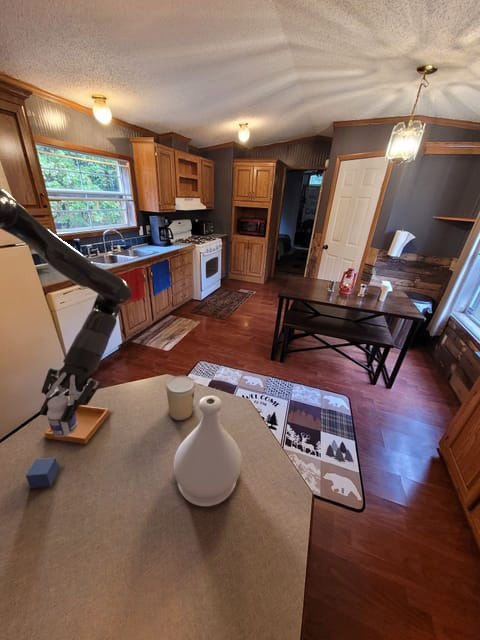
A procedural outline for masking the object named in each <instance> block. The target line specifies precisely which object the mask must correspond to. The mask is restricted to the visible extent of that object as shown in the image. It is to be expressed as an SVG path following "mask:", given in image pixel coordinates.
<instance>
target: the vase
mask: <svg viewBox="0 0 480 640" xmlns="http://www.w3.org/2000/svg"><path fill="white" fill-rule="evenodd" d="M222 405H223V403H222V400H221V399H220V398H219V397H218V396H216V395H205V396H203V397H201V399H200V400H199V402H198V408H199V410H200V412H202V416H201V420H200V422H199V423H198V424H197V426H195V428H194V429H193V430H192V431H191V432H190V433H189V434H188V435H187V436H186V438H184V439H183V441H182V442H181V444H180V445H179V447H178V448H177V450H176V453H175V455H174V458H173V473H174V477H175V480H176V482H177V486H178V489H179V492H180V493H181V495H182V497H184V499H185V500H187V501H188V502H189V503H191V504H193V505H195V506H198V507H212V506H215V505H218V504H221V503H222V502H224V501H225V500H226V499H228V498H229V497H230V496H231V494H232V493H233V491H234V490H235V487H236V484H237V480H238V479H239V477H240V475H241V471H242V465H243V459H242V453H241V450H240V448H239V445H238V444H237V442H236V441H235V440H234V438H233V437H232V436H231V435H230V434H229V432H228V431H227V430H226V428H224V427H223V425H222V424H221V422H220V421H219V417H218V413H219V411H221V409H222Z"/></svg>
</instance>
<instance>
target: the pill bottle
mask: <svg viewBox="0 0 480 640" xmlns="http://www.w3.org/2000/svg"><path fill="white" fill-rule="evenodd" d="M47 405H48V409H49V410H48V412H47V416H46V417H47V420H48V424H49V426H50V427H51V430H52V433H53V435H54V436H56V437H64V436H67V435H69V434H71V433H73V432H74V431H75V430H76V429H77V427H78V422H77V418H76V414H74V416H73V418H72V420H70V421H69V422H61V421H60V419H61V417H62V415H63V413H64V411H65V409H66V406H67V405H69V398H68V396H67V395H65V394H64V395H63V394H61V395H60V396H56V397H54V398H52V399H50V400H49V401H48V404H47ZM50 427H49V428H50Z"/></svg>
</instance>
